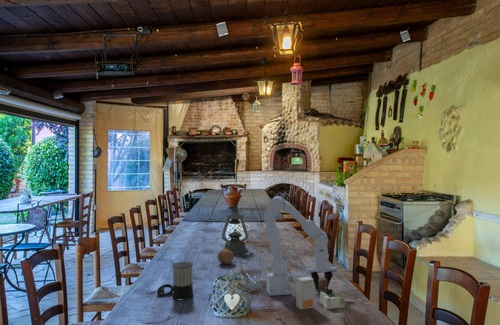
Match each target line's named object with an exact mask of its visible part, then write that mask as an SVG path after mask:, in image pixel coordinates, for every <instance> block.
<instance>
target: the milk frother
mask: <svg viewBox="0 0 500 325" xmlns="http://www.w3.org/2000/svg"><path fill="white" fill-rule="evenodd" d="M193 265H194V263H193V262H191V261H177V262H175V263H173V264H172V271H173V272H172V274H173V275H172V278H173V279H172V280H173V282H172V283H173V284H170V283H166V284H163V285H161V286H159V287H158V288H157V290H156V294H157V295H158V296H161V297H167V296H170V295H172V299H174V298H175V299H188V298H191V297H192V298H194V290H193V288H194V287H193ZM165 288H169V289H170V291H168V292H166V293H165ZM192 298H191V299H192ZM175 299H174V300H175ZM188 300H189V299H188Z"/></svg>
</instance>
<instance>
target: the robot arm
mask: <svg viewBox="0 0 500 325" xmlns="http://www.w3.org/2000/svg"><path fill="white" fill-rule="evenodd" d="M280 212H282V213H284V214H289V215H290V216H291V217H292V218H293V219H294V220H295V221H297V222H298V223H299V224H300V225H301V230H303V231H304V232H305V233H306V234H307V235H308V237H310V238H311V239H313V240H314V243H315V247H314V266H313V267H309V268H307V267H306V268H305V274H306V275H311V276H310V277H311V278H312V279H314V287H315V288H314V289H315V290H316V289H317V290H318V280H319V278H320V276H319V274H320V273H322V274H323V275H324V277H323V278H325V279H326V280H327V289H329V284H330V282H331V280H332V278H333V277H334V274H333V273H338V267H337V266H329V248H328V246H329V245H328V243H329V237H328V234H327V233H326V231H324V230H323V228H320V227H319V226H318V225H317V224H316V222H315V221H314V220H311V219H307V218H305V216H303V215H302V214H301V213H300V211H299V210H297V209H296V207H294V206H293V205H292V204H291V202H289V201H288V200H287V199H285V198H284V197H283V196H280V195H276V196H274V197H273V198H272V199H271V200H270V201H269V202H268V204H267V206H266V208H265V211H264V214H263V220H264V224H265V230H266V234H267V238H268V243H269V248H270V253H271V262H272V264H271V272H270V273H267V274H266V278H265V281H266V286H265V287H266V292H267V293H268V295H269V296H271V297H272V296H282V295H284V296H285V295H290V294H291V293H290V291H289V290H288V271H287V270H286V268H287V264H288V262H287V259H286V258H285V256H284V253H283V251H282V246H281V241H280V238H279V233H278V228H277V224H276V220H275V219H276V216H277V214H278V213H280ZM318 273H319V274H318Z"/></svg>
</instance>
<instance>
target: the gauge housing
mask: <svg viewBox="0 0 500 325" xmlns="http://www.w3.org/2000/svg"><path fill="white" fill-rule="evenodd" d="M332 294H333V297H331V298H330V297H328V295H327V294H326V293H324V292H320V294H319V303H320V305H322V306H323V307H324V308H325V309H326V310H330V309H341V308H343V309H344V308H345V306H346V303H345V302H346V298H345V296H344V295H342V294H341V293H340V292H339V291H338V290H332Z"/></svg>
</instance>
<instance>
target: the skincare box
mask: <svg viewBox="0 0 500 325" xmlns="http://www.w3.org/2000/svg"><path fill="white" fill-rule="evenodd" d="M295 279H296V290H295V291H296V295H295V298H296V300H295V301H296V303H295V304H296V305H295V306H296V307H297V309H299V310H307V309H313V308H314V289H315V288H314V287H315V284H314V279H313V278H312V277H311V276H302V277H297V278H295Z"/></svg>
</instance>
